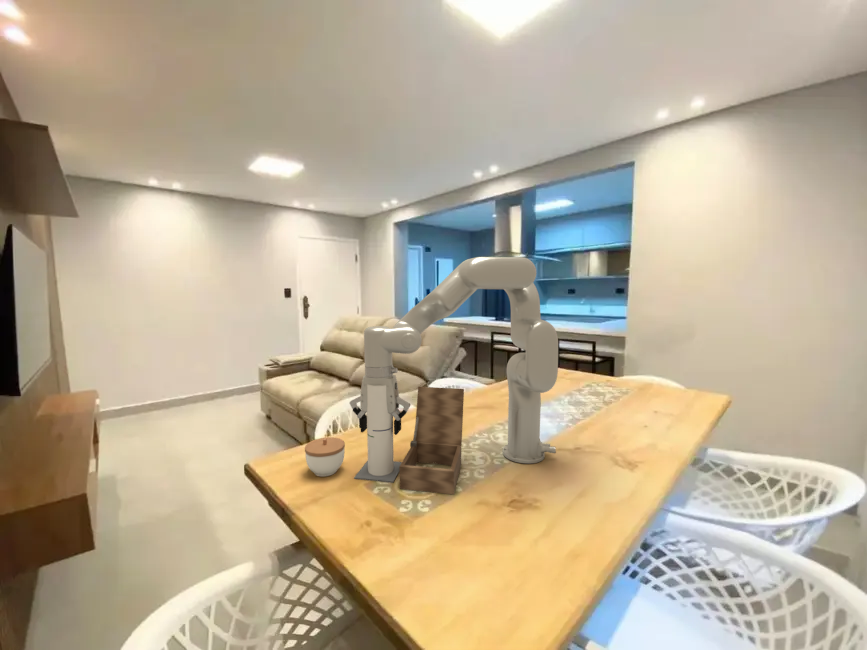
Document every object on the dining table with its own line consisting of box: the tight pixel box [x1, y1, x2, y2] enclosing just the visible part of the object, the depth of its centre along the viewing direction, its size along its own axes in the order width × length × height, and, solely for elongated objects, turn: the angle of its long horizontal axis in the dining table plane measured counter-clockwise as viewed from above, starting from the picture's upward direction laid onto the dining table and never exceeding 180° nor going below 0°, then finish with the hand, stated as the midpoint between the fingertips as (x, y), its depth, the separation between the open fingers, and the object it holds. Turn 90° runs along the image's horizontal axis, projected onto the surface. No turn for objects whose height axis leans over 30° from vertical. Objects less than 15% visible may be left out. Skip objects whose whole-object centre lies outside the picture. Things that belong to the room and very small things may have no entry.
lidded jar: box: [304, 436, 346, 478], centre depth 104 cm, size 11×11×9 cm
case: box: [399, 386, 465, 495], centre depth 104 cm, size 14×22×21 cm, turn 169°
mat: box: [353, 460, 402, 484], centre depth 105 cm, size 11×11×1 cm
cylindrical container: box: [366, 384, 395, 476], centre depth 103 cm, size 7×7×25 cm
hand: (380, 431), depth 104 cm, fingers open, 9 cm apart
